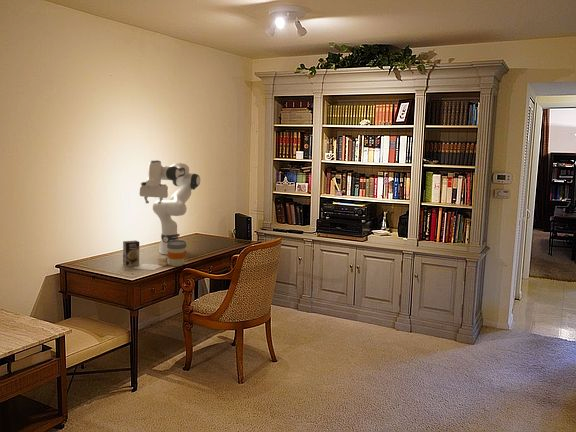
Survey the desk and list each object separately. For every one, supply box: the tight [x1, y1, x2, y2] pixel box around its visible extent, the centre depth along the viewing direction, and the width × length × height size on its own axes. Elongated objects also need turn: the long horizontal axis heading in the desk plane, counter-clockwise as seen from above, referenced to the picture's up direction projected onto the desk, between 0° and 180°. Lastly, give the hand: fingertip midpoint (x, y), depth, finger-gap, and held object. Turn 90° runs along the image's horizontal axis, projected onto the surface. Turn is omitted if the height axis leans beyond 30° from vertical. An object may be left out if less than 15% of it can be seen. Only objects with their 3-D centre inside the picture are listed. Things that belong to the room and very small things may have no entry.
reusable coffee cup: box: [167, 239, 187, 267], centre depth 350 cm, size 13×13×15 cm
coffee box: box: [122, 240, 140, 268], centre depth 345 cm, size 9×6×16 cm
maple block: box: [157, 256, 168, 266], centre depth 351 cm, size 5×5×5 cm
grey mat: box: [132, 263, 164, 271], centre depth 342 cm, size 14×14×1 cm
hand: (153, 203), depth 362 cm, fingers open, 8 cm apart
